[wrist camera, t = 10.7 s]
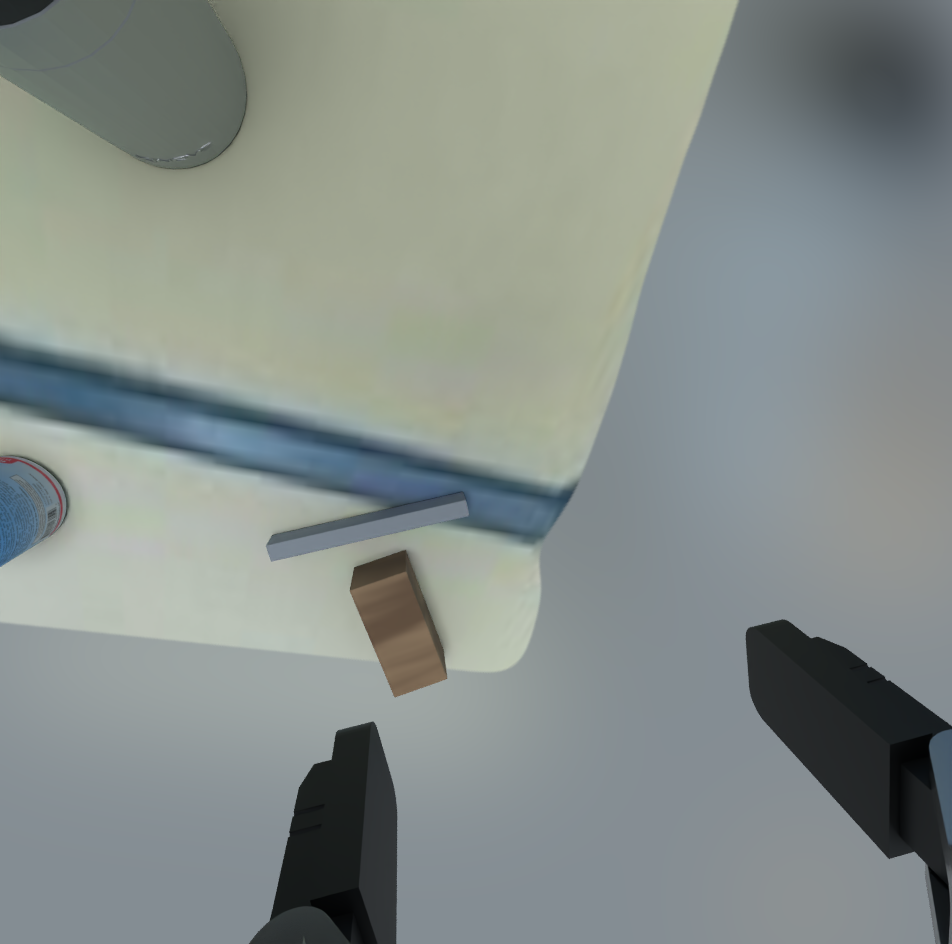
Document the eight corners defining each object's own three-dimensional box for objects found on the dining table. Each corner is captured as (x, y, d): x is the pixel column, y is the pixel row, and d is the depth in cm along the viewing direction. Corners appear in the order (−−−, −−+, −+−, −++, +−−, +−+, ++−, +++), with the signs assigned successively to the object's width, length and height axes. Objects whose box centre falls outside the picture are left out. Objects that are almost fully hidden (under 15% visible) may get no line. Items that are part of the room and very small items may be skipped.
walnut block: (349, 590, 39) (395, 698, 41) (405, 571, 39) (447, 680, 42) (354, 566, 43) (396, 666, 45) (405, 548, 43) (444, 650, 45)
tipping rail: (272, 535, 41) (265, 545, 39) (462, 491, 42) (465, 500, 40) (277, 550, 41) (271, 561, 39) (466, 506, 42) (469, 515, 40)
